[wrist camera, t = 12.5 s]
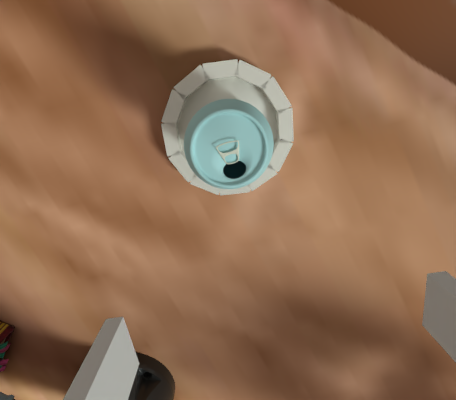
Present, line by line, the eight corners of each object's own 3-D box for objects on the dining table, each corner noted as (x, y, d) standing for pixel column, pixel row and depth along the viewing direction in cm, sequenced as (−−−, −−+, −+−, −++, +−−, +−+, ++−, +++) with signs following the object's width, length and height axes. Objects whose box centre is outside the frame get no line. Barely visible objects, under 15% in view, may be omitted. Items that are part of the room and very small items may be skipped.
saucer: (178, 194, 35) (175, 200, 33) (155, 72, 30) (150, 70, 28) (291, 181, 34) (295, 186, 32) (285, 55, 30) (290, 52, 28)
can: (271, 125, 31) (297, 140, 20) (233, 174, 33) (237, 213, 22) (221, 84, 30) (218, 76, 19) (184, 137, 32) (161, 159, 21)
